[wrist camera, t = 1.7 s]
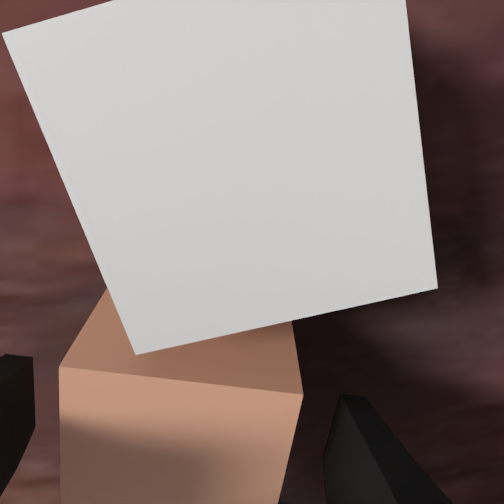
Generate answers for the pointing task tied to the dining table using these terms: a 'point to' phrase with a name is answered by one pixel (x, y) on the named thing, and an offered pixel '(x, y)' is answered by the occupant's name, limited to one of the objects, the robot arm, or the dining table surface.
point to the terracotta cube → (176, 416)
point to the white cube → (236, 157)
